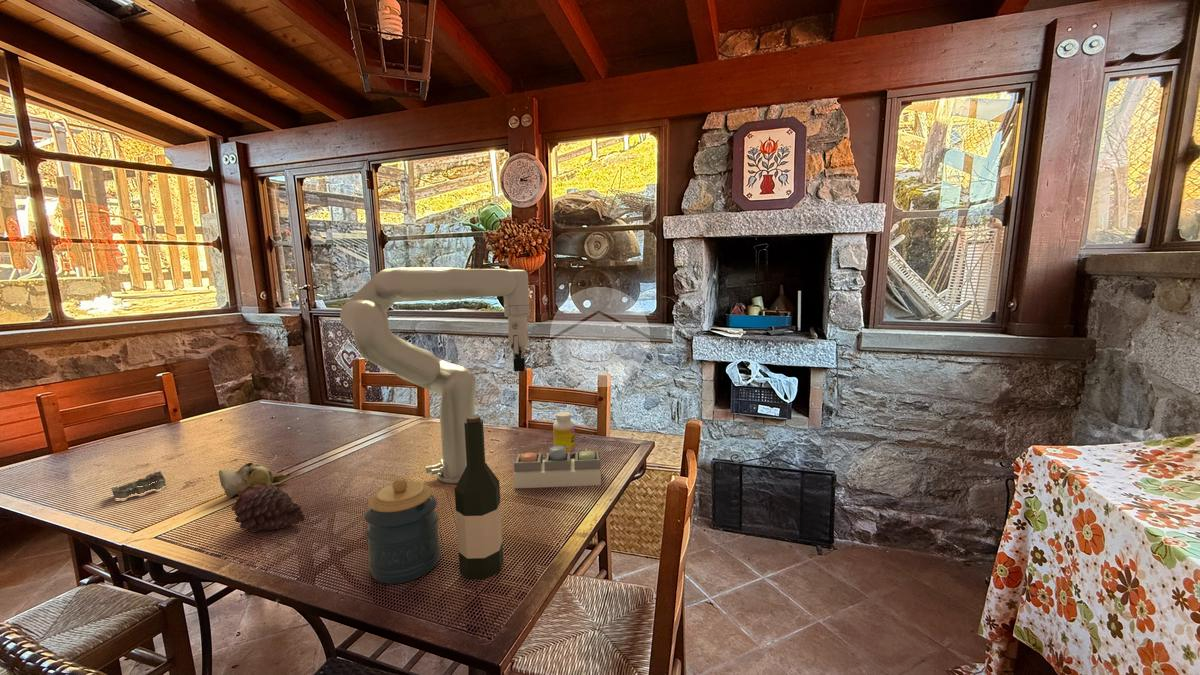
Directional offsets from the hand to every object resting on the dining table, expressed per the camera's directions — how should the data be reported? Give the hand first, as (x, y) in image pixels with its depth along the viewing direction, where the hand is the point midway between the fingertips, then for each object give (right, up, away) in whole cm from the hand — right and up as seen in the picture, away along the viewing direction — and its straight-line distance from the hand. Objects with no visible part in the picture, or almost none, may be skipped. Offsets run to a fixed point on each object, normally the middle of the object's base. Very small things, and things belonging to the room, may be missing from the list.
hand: (519, 370), depth 144 cm
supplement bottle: (+13, -27, +5) cm, 30 cm away
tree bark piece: (-99, -32, -17) cm, 106 cm away
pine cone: (-51, -34, -36) cm, 71 cm away
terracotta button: (+5, -25, -15) cm, 30 cm away
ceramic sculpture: (-68, -32, -18) cm, 77 cm away
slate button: (+13, -23, -15) cm, 31 cm away
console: (+13, -29, -14) cm, 35 cm away
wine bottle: (+2, -35, -53) cm, 63 cm away
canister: (-13, -35, -51) cm, 64 cm away
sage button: (+21, -25, -15) cm, 36 cm away
